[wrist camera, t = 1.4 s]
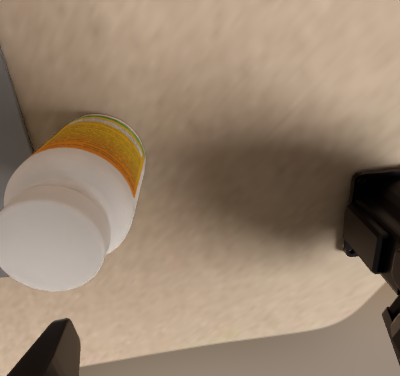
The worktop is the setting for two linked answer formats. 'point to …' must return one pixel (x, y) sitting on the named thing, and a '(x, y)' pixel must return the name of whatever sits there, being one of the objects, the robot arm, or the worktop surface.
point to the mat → (10, 134)
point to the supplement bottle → (71, 203)
